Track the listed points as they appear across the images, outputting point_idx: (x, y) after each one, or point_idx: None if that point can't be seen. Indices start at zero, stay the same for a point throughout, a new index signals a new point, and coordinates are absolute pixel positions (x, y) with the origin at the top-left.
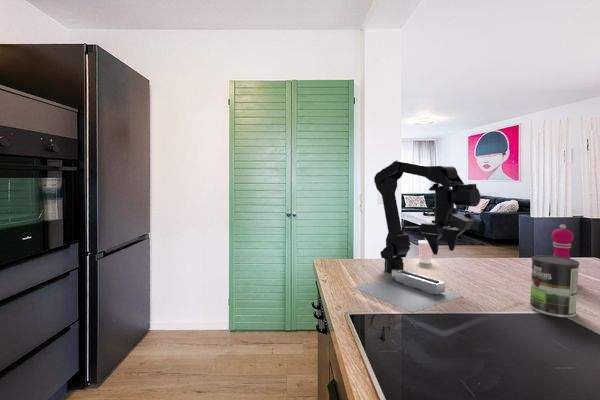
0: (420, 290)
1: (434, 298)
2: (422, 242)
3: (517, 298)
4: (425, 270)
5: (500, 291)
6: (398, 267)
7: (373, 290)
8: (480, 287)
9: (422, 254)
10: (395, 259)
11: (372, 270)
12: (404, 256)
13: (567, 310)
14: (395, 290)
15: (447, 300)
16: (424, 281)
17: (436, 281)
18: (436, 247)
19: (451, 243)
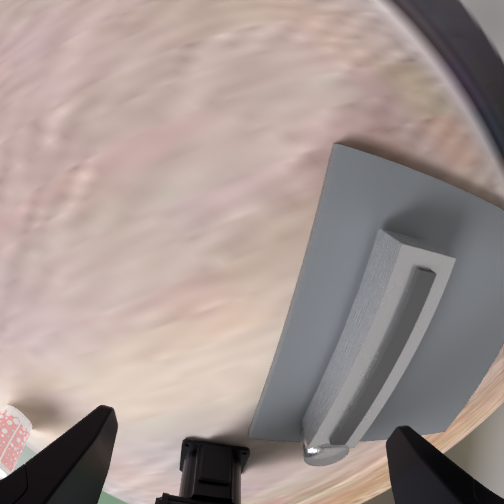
0: None
1: (448, 235)
2: (5, 473)
3: None
4: (78, 405)
5: (85, 69)
6: (230, 471)
7: (451, 397)
8: (88, 154)
9: (20, 442)
10: (231, 501)
11: None
12: (170, 497)
13: None
14: (429, 369)
15: (443, 184)
16: (427, 324)
17: (432, 276)
18: (457, 466)
19: (89, 477)
